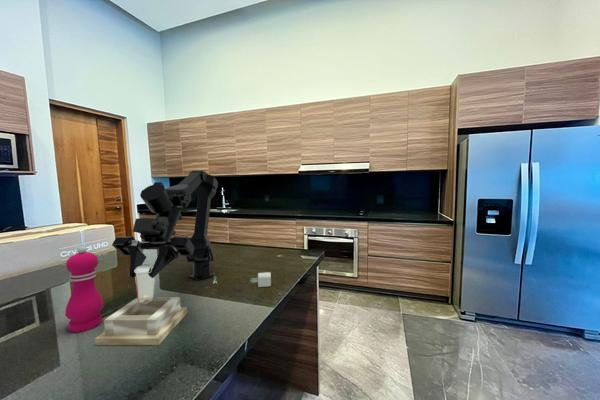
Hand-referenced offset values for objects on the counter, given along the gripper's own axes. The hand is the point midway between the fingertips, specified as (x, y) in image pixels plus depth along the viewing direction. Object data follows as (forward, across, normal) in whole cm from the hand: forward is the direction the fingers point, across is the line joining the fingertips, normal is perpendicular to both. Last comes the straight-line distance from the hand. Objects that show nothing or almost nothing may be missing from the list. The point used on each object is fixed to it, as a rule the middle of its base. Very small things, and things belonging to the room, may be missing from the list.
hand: (141, 277), depth 60 cm
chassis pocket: (+8, 0, +10) cm, 13 cm away
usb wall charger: (-9, +24, +29) cm, 39 cm away
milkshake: (+4, 0, +6) cm, 7 cm away
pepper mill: (+8, -16, +11) cm, 21 cm away
